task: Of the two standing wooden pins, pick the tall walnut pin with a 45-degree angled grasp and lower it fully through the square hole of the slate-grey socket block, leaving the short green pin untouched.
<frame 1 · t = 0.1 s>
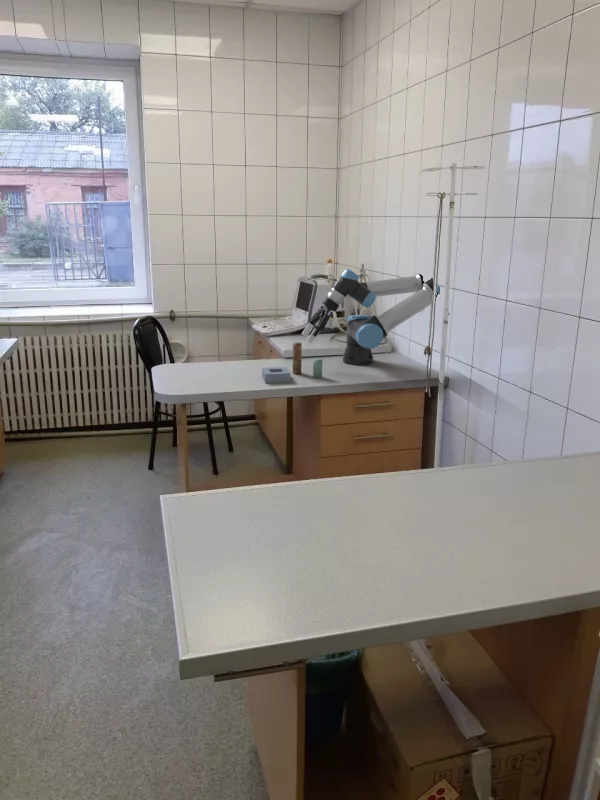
hand: (306, 338, 285), 15 cm above the table, tool tilted 35°, fingers open, 13 cm apart
walnut pin long: (296, 373, 284), on the table
green pin short: (317, 377, 278), on the table
socket block: (275, 379, 274), on the table
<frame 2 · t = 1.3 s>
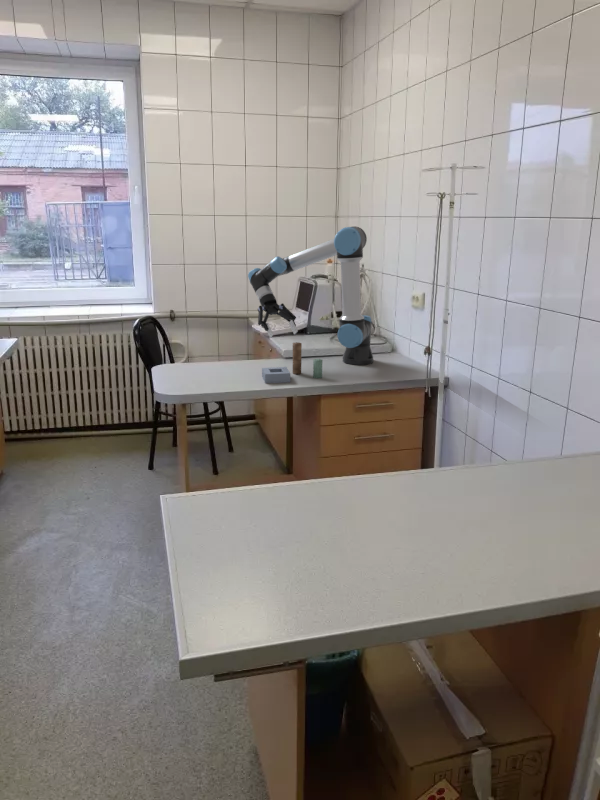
hand: (284, 334, 287), 16 cm above the table, tool tilted 45°, fingers open, 13 cm apart
nothing on the table moved.
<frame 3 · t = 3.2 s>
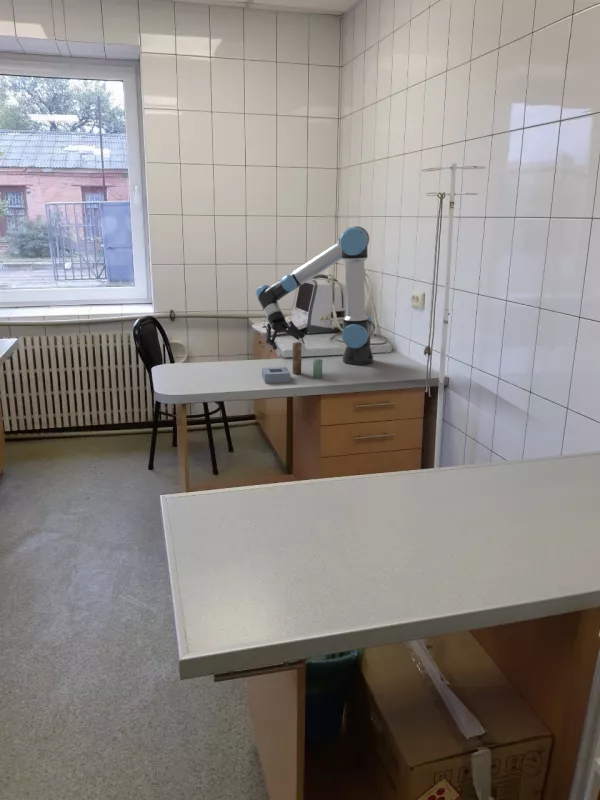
hand: (292, 353, 283), 9 cm above the table, tool tilted 45°, fingers open, 13 cm apart
nothing on the table moved.
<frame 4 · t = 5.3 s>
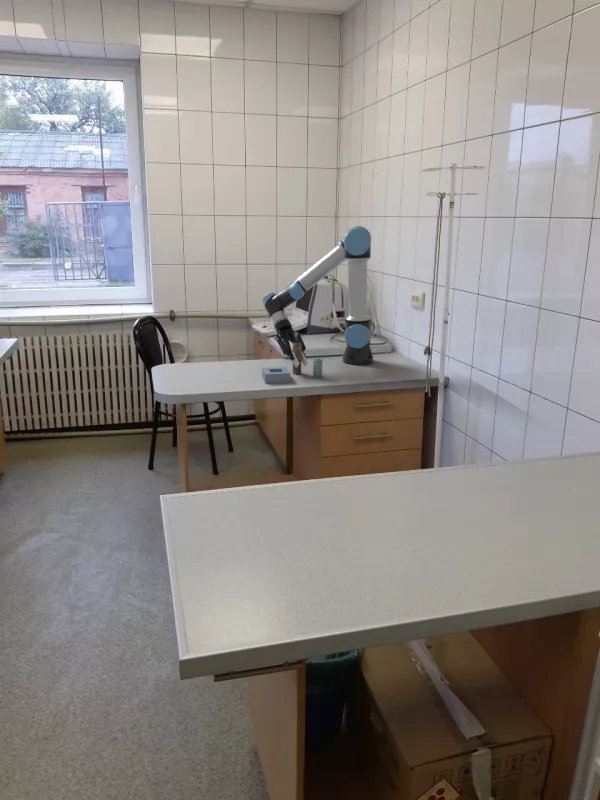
hand: (301, 365, 280), 5 cm above the table, tool tilted 45°, fingers closed on walnut pin long, 4 cm apart
walnut pin long: (296, 373, 284), on the table, touching gripper
everything else where it was.
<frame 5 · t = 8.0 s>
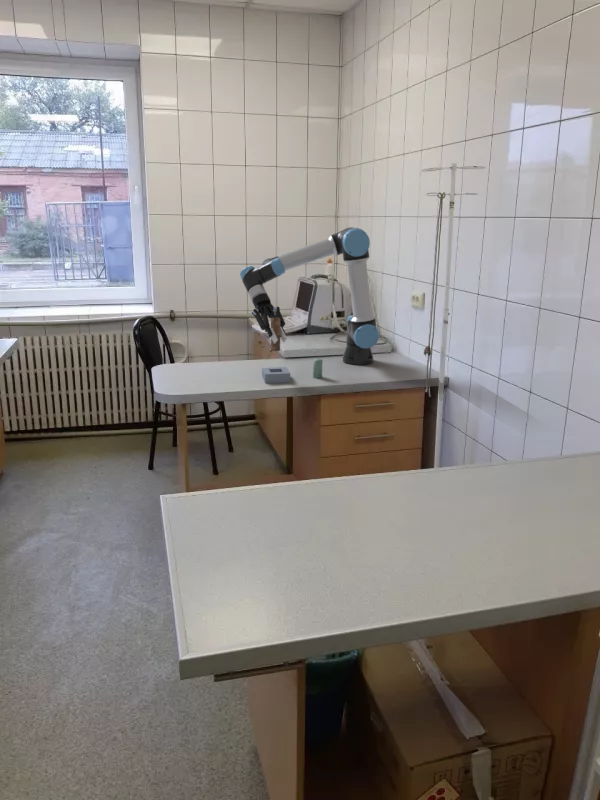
hand: (280, 341, 266), 18 cm above the table, tool tilted 45°, fingers closed on walnut pin long, 4 cm apart
walnut pin long: (275, 350, 270), point 13 cm above the table, touching gripper
everything else where it was.
when the fingers open (6 cm above the table, at t = 10.8 s): walnut pin long drops 1 cm, resting in socket block.
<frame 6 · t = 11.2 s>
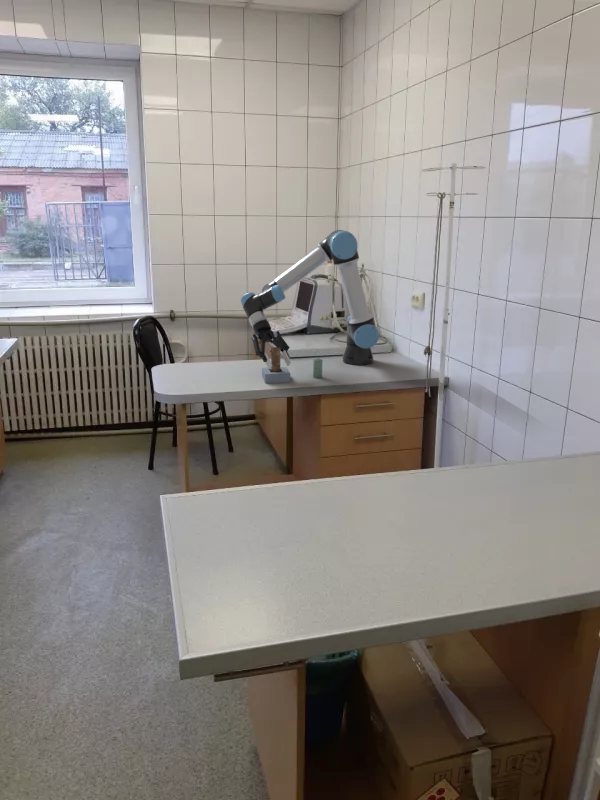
hand: (279, 365, 270), 7 cm above the table, tool tilted 45°, fingers open, 9 cm apart
walnut pin long: (275, 379, 274), resting in socket block
everything else where it was.
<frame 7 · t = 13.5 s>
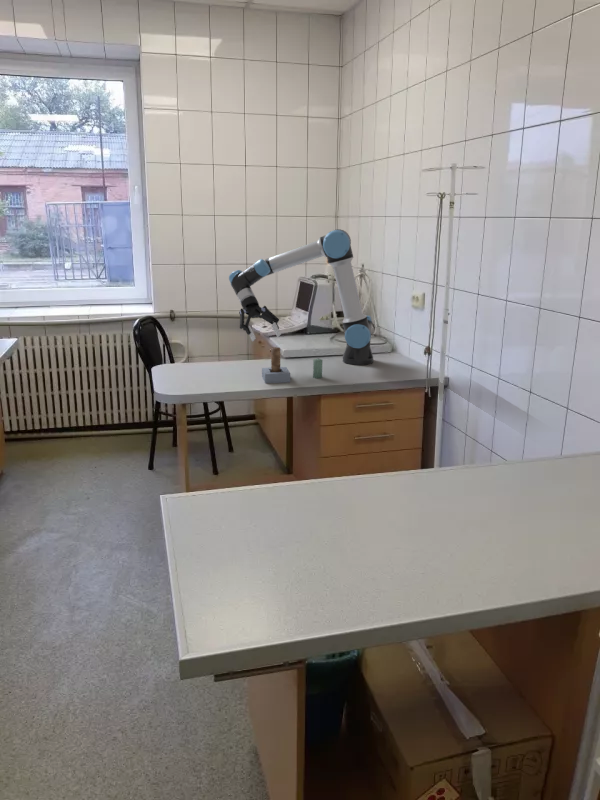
hand: (266, 337, 279), 17 cm above the table, tool tilted 45°, fingers open, 13 cm apart
nothing on the table moved.
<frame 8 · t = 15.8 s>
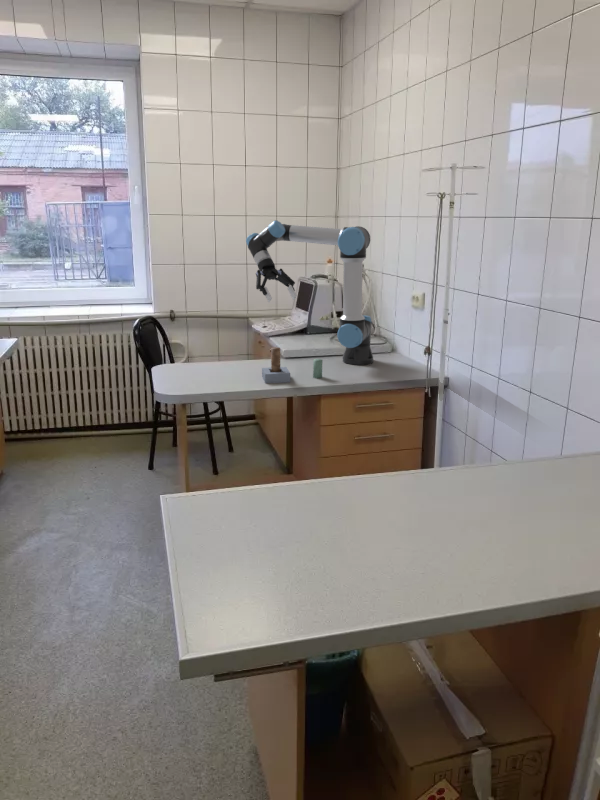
hand: (282, 299, 283), 33 cm above the table, tool tilted 45°, fingers open, 13 cm apart
nothing on the table moved.
at the end: walnut pin long 0.1 cm off-centre on the socket block, point 0.0 cm above the socket block's base; walnut pin long tilted 0°; green pin short moved 0.0 cm from its start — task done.
